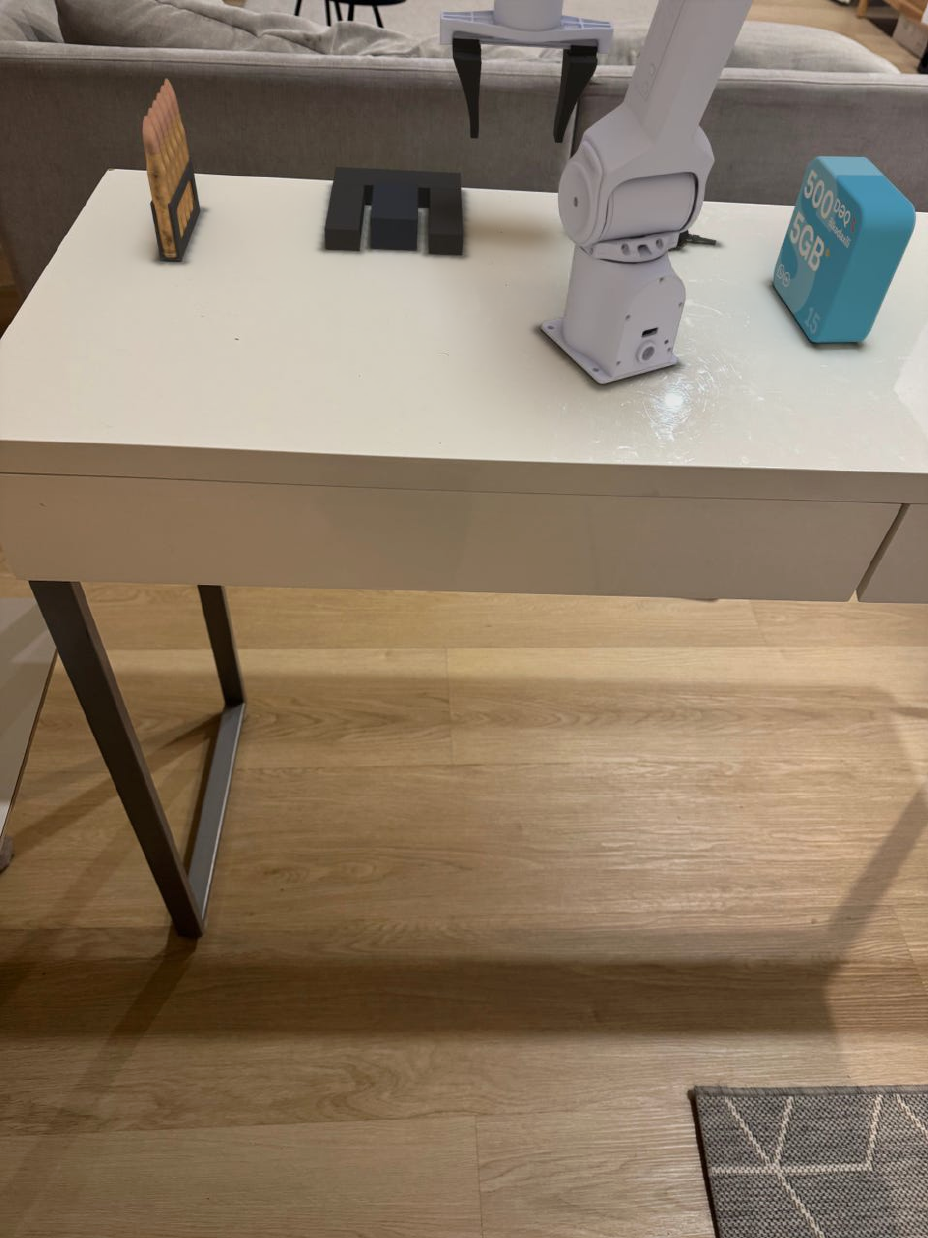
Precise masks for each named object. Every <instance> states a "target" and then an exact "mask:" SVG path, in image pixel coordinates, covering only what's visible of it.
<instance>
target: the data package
mask: <svg viewBox="0 0 928 1238" xmlns="http://www.w3.org/2000/svg"><path fill="white" fill-rule="evenodd" d="M797 195H798V196H797V198H796V202H795V204H794V207H793V210H792V214H791V216H790V220H789V222H788V226H787V228H786V232H785V236H784V239H783V242H782V245H781V247H780V251H779V253H778V256H777V260H776V263H775V266H774V270H773V285H774V288H775V290H776V291H777V294H779V296H780V298H781V299H782V301H783V302H784V304H785V305H786V306H787V308H788V309H789V311H790V312H791V314H792V315H793V317H794V319H795V320H796V322H797V323H798V324H799V326H800V327H801V329H802V330H803V332H804V333H805V335H806V336H807V338H808V340H809V341H811V342H812V343H860V342H863V341H865V340H866V339H867V337H868V336H869V335H870V333H871V331H872V328H873V327H874V323H875V321H876V319H877V317H878V314H879V312H880V310H881V307H882V305H883V303H884V301H885V298H886V295H887V294H888V291H889V289H890V286H891V285H892V282H893V279H894V277H895V276H896V273H897V270H898V268H899V266H900V264H901V261H902V259H903V257H904V254H905V252H906V249H907V248H908V245H909V243H910V240H911V238H912V236H913V233H914V231H915V228H916V222H917V214H916V213H917V212H916V208H915V206H914V204H913V203H912V202H911V201H910V200H909V199H908V198H907V197H906V196H905V195H904V194H903V193H902V192H901V191H900V190H899V189H898V188H897V187H896V186H895V185H894V184H893V183H892V182H891V181H890V179H888V177H886V176H885V174H883V173H882V171H881V170H879V169H878V168H877V166H875V164H873V162H871V161H870V159H869V158H867V157H866V156H839V155H838V156H835V155H834V156H831V155H830V156H828V155H824V156H823V155H819V156H815V157H814V158H813V159H811V161H810V162H809V164H808V166H807V168H806V171H805V174H804V176H803V180H802V183H801V186H800V189H799V192H798V194H797Z"/></svg>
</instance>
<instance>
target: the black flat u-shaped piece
mask: <svg viewBox="0 0 928 1238" xmlns="http://www.w3.org/2000/svg"><path fill="white" fill-rule="evenodd" d="M374 181H379V182H399V183H418V184H419V186H418V208H429V211H428V212H429V213H428V215H429V216H428V220H429V221H428V253H429V254H431V255H451V256H452V255H454V256H463V253H464V252H463V251H464V249H463V248H464V219H463V217H464V215H463V195H462V194H463V193H462V191H463V190H462V173H461V172H448V171H447V172H446V171H445V172H444V171H429V170H428V171H427V170H426V171H425V170H406V169H385V168H369V167H368V168H367V167H366V168H365V167H349V166H348V167H347V166H335V170H334V174H333V179H332V185H331V191H330V196H329V202H328V208H327V213H326V218H325V225H324V244H325V250H336V251H337V250H340V251H357V252H358V251H360V249H361V243H362V242H361V241H362V232H363V224H364V216H365V210H366V209H365V207H366V205H368V206H369V205H371V206H372V197H373V188H374Z"/></svg>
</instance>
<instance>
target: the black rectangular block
mask: <svg viewBox="0 0 928 1238" xmlns="http://www.w3.org/2000/svg"><path fill="white" fill-rule="evenodd" d="M418 186H419V184H418V183H399V182H379V181H374V188H373V197H372V205H371V207H370V216H369V217H370V218H369V219H370V221H369V223H370V225H369V227H370V249H376V250H377V249H379V250H399V251H400V250H401V251H417V250H418V231H419V230H418V229H419V228H418V227H419V226H418V225H419V224H418V223H419V207H418Z"/></svg>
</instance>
